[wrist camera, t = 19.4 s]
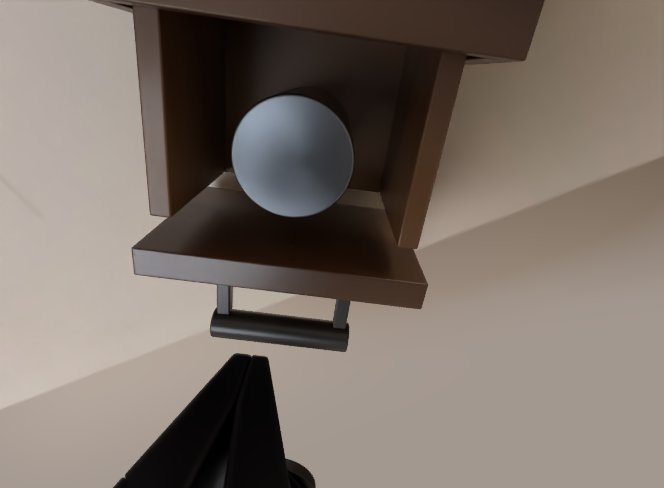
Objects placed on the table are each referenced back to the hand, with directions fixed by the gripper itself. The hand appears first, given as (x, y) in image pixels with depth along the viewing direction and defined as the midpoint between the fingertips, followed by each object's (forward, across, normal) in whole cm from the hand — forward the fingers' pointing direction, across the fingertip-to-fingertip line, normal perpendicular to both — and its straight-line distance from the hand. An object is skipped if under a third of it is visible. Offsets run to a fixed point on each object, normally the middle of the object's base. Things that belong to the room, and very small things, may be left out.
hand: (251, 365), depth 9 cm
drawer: (+14, 0, -2) cm, 14 cm away
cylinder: (+13, 0, -2) cm, 13 cm away
